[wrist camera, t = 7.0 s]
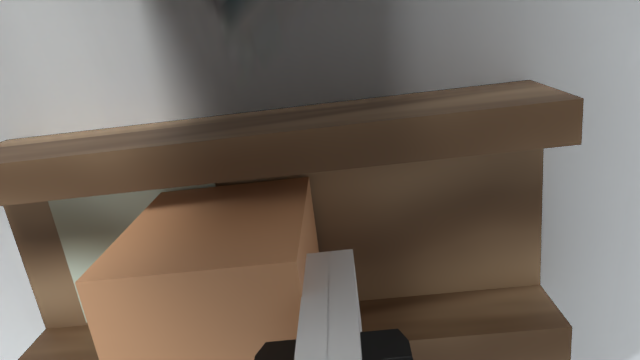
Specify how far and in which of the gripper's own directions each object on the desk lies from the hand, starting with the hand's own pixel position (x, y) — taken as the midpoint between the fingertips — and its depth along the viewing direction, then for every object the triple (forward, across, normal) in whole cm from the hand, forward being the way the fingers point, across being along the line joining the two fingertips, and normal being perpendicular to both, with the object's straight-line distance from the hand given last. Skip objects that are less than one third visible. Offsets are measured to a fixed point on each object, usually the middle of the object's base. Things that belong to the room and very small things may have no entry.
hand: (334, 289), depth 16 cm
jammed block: (+5, -4, 0) cm, 6 cm away
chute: (+6, -3, 0) cm, 7 cm away
